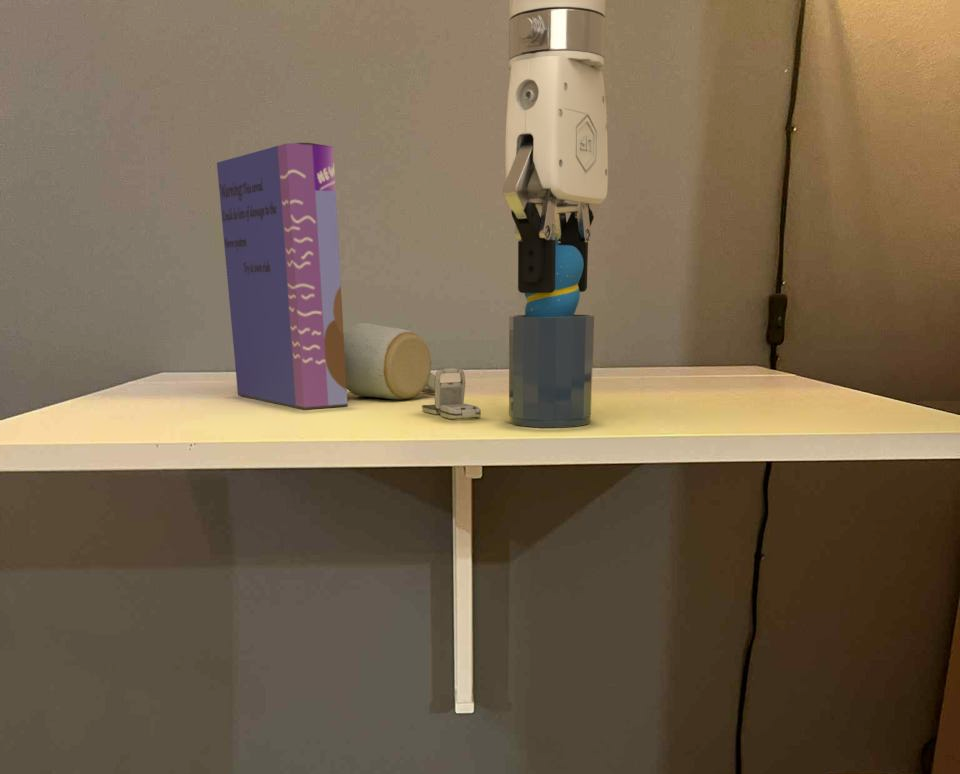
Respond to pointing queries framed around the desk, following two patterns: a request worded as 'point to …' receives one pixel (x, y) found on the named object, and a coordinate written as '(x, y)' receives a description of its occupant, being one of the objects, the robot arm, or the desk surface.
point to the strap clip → (451, 398)
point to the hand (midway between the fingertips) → (553, 289)
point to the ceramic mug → (386, 362)
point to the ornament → (559, 285)
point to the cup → (550, 370)
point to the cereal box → (284, 275)
